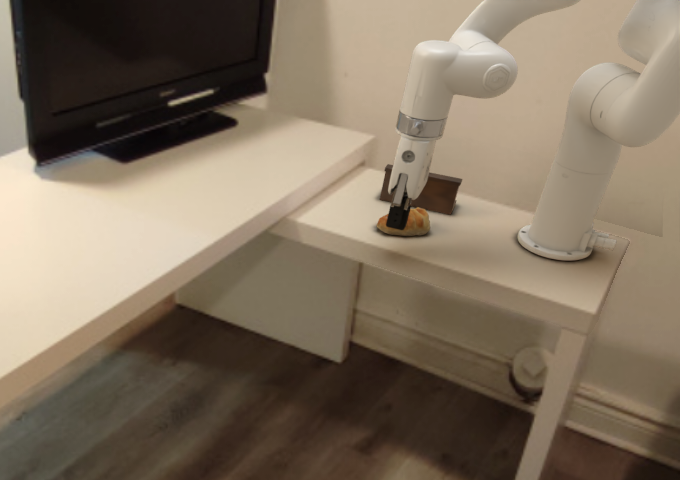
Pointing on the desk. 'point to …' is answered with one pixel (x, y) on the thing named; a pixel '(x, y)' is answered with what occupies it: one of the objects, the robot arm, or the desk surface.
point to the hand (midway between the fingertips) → (395, 226)
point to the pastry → (409, 224)
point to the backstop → (429, 192)
